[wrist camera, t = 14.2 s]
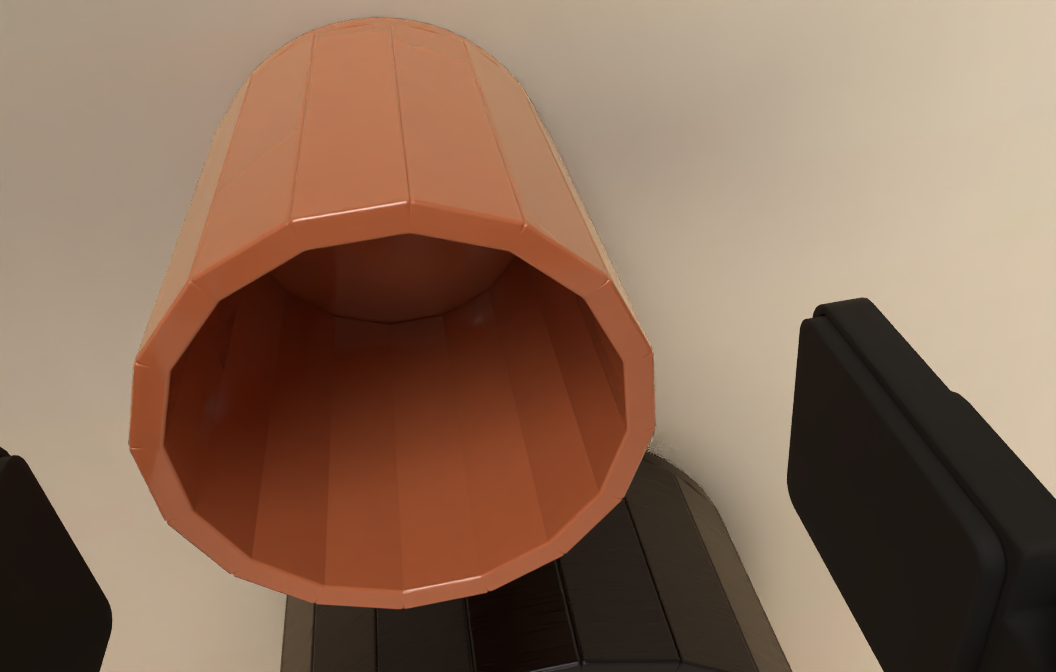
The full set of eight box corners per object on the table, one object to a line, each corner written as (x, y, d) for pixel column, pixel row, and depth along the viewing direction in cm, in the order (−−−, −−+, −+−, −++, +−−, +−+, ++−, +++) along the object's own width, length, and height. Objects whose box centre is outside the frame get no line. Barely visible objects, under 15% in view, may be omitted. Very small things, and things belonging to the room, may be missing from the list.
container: (165, 46, 15) (34, 262, 9) (534, -10, 15) (649, 159, 9) (268, 347, 19) (225, 647, 13) (563, 295, 19) (660, 560, 13)
